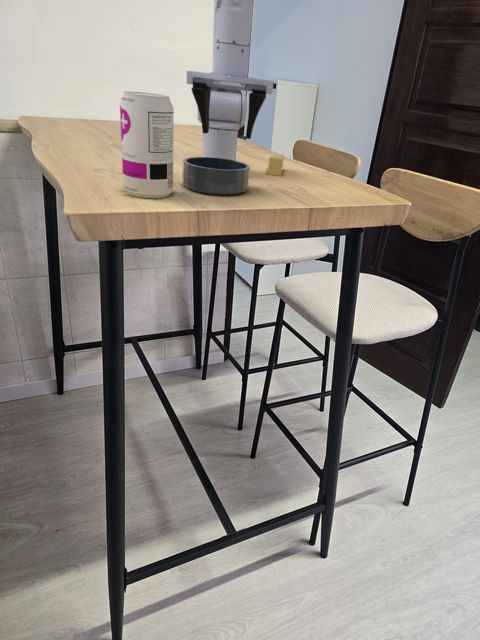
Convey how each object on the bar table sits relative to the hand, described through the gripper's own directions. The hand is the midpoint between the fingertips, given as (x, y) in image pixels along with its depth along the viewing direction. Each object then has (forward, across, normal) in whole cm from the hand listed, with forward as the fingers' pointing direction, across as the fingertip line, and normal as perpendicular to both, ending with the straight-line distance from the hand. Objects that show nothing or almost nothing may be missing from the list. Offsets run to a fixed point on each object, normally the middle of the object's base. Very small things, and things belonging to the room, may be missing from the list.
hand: (227, 135), depth 84 cm
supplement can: (+10, -12, -10) cm, 18 cm away
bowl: (+10, -2, +1) cm, 10 cm away
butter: (+10, +8, +25) cm, 28 cm away
